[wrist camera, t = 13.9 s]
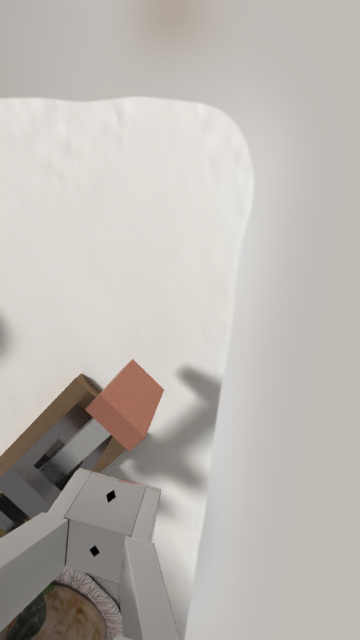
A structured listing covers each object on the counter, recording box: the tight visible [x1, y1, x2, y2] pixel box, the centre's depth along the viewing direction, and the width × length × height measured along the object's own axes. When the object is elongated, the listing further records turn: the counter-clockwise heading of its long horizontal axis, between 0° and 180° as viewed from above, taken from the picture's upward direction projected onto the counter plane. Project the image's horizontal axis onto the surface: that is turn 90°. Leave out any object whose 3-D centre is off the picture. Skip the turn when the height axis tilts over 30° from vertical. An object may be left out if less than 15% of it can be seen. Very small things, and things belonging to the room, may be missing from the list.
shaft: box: [38, 359, 164, 485], centre depth 25 cm, size 19×5×8 cm, turn 135°
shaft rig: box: [0, 374, 126, 533], centre depth 30 cm, size 23×12×12 cm, turn 135°
